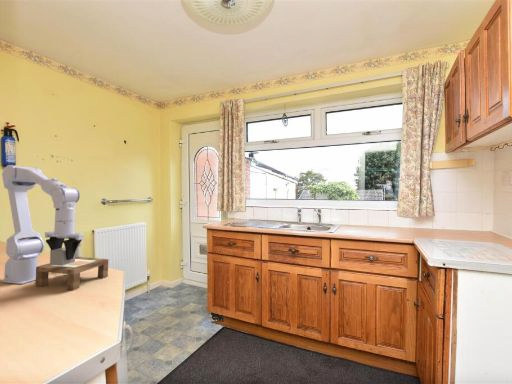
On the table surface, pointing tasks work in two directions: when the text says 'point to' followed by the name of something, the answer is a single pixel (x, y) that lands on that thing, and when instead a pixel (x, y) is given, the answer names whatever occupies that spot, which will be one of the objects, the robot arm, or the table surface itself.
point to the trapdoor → (77, 263)
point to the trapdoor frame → (71, 272)
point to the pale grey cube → (59, 257)
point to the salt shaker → (78, 251)
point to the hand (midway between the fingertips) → (63, 258)
